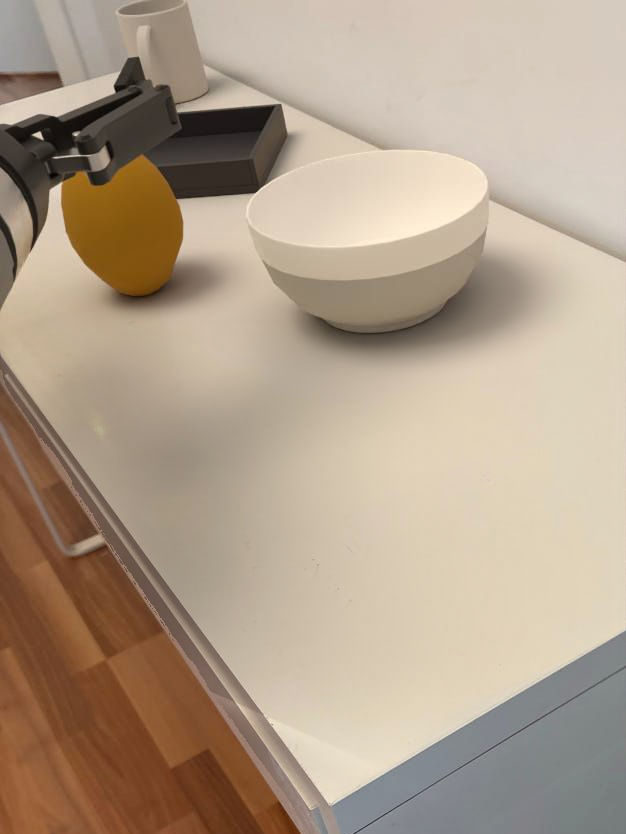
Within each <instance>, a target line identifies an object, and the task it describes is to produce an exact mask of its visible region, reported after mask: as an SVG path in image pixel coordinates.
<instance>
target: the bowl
mask: <svg viewBox="0 0 626 834" xmlns="http://www.w3.org/2000/svg"><path fill="white" fill-rule="evenodd" d="M489 217H490V183H489V180H488V178H487V176H486V173H485V172H484V171H483V170H482V169H481V168H480V167H478V166H477V165H476V164H474V163H473V162H470V161H469V160H467V159H465V158H461V157H458V156H455V155H452V154H449V153H445V152H444V153H443V152H437V151H433V150H420V149H384V150H371V151H363V152H356V153H349V154H344V155H341V156H340V155H339V156H335V157H330V158H326V159H322V160H319V161H315V162H312V163H309V164H305V165H302V166H301V167H298V168H295V169H293V170H290V171H288V172H286V173H283V174H281V175H279V176H278V177H275V178H274V179H272V180H271V181H269V182H268V183H265V184H264V186H263V187H262V188H261V189H260V190H259V191H258V192H255V193H254V195H252V197H251V198H250V199H249V201H248V203H247V205H246V207H245V222H246V224H247V227H248V231H249V234H250V236H251V239H252V243H253V246H254V249H255V251H256V253H257V255H258V257H259V258H260V260H261V262H262V263H263V266H264V267H265V269H266V271H267V273H268V275H269V277H270V279H271V280H272V283H273V284H274V285H275V286H276V287H277V288H278V289H279V290H281V291H282V292H283V294H285V295H286V296H287V297H288V298H289V299H290V300H291V301H292V302H293V303H294V304H296V305H297V306H298V307H299V308H300V309H301V310H302V311H305V312H307V313H308V314H310V315H313V316H315V317H317V318H321V319H322V320H324V322H325V323H327V324H328V325H330V326H332V327H334V328H336V329H339V330H342V331H344V332H345V331H346V332H352V333H360V334H361V333H362V334H378V333H379V334H380V333H388V332H393V331H399V330H403V329H408V328H410V327H413V326H416V325H419V324H421V323H423V322H425V321H427V320H429V319H431V318H433V317H434V316H435V315H437V314H438V313H439V312H440V311H441V310H442V309H443V308H444V307H445V306H446V303H447V302H448V300H449V299H451V298H452V297H453V296H455V295H456V294H458V293H459V292H460V291H461V289H462V288H463V287H465V285H466V284H467V282H468V280H469V278H470V276H471V274H472V273H473V271H474V269H475V268H476V266H477V264H478V262H479V260H480V259H481V257H482V255H483V254H484V253H483V252H484V248H485V242H486V236H487V230H488V225H489Z"/></svg>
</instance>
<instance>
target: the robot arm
mask: <svg viewBox="0 0 626 834" xmlns="http://www.w3.org/2000/svg"><path fill="white" fill-rule="evenodd" d="M113 89H114V93H111V94H109V95H106V96H105V97H102V98H100V99H97V100H95V101H92V102H90V103H87V104H85V105H83V106H80V107H78V108H75V109H73V110H71V111H68V112H65V113H63V114H61V115H59V116H55V115H51V114H44V113H38V114H35V115H32V116H30V117H28V118H25V119H22V120H20V121H18V122H15V123H13V124H8V123H0V311H1V310H2V308H3V307H4V304H5V302H6V300H7V299H8V298H7V297H8V296H9V294H10V293H11V290H12V289H13V286H14V283H15V282H16V280H17V278H18V276H19V274H20V272H21V270H22V269H23V267H24V265H25V263H26V261H27V259H28V258H29V255H30V254H31V252H32V250H34V249H33V248H34V246H35V245H36V243H37V241H38V239H39V237H40V235H41V234H42V231H43V229H44V228H45V225H46V222H47V219H48V214H49V206H50V191H51V190H52V189H53V188H55V187H57V186H58V185H59V184H62V182H63V181H65V180H67V179H69V178H72V177H74V176H75V175H76V173H77V172H85V173H86V176H87V177H88V179H89V181H90V184H91V185H94V186H102V185H105V184H106V183H108V182H110V181H111V180H112V178H113V177H114V175H115V174H116V172H117V171H118V170H119V169H121V168H122V167H124V166H125V165H127V164H128V163H130V162H131V161H133V160H134V159H136V158H137V157H139V156H141V155H142V154H144V153H145V152H147V151H148V150H150V149H151V148H153V147H154V146H156V145H157V144H159V143H161V142H162V141H164V140H165V139H167V138H168V137H170V136H171V135H173V134H174V133H176V132H177V131H179V130H180V129H181V124H180V120H179V117H178V113H177V112H178V110H177V107H176V104H175V103H174V99H173V96H172V92H171V89H170V86H169V85H163V84H159V85H156V87H153V83H152V81H151V80H150V79H148V80H146V79H145V75H144V72H143V68H142V65H141V62H140V58H139V57H131V58H129V57H128V58H127V59H126V61H125V63H124V65H123V67H122V69H121V70H120V72H119V74H118V77H117V79H116V80H115V81H114V84H113ZM37 133H40V135H41V137H42V138H40V137H37V136H35V134H37Z"/></svg>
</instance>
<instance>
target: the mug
mask: <svg viewBox="0 0 626 834" xmlns="http://www.w3.org/2000/svg"><path fill="white" fill-rule="evenodd" d="M115 17H116V20H117V24H118V28H119V30H120V33H121V37H122V40H123V43H124V47H125V50H126V54H127V57H128V58H131V57H139V58H140V62H141V65H142V68H143V72H144V75H145V79H146V80H148V79H150V80H151V81H152V83H153V87H156V85H159V84H163V85H169V86H170V89H171V92H172V96H173V99H174V103H175V105H176V104H182V103H186V102H190V101H193V100H195V99H198V98H200V97H202V96H204V94H206V93H208V91H209V89H210V86H209V82H208V79H207V75H206V74H207V73H206V70H205V67H204V63H203V58H202V56H201V52H200V47H199V43H198V39H197V35H196V32H195V27H194V23H193V20H192V16H191V12H190V8H189V4H188V1H187V0H135V1H132V2H129V3H126V4H123V5H121V6H119V7H118V8H117V9H116V10H115Z"/></svg>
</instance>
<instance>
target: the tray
mask: <svg viewBox="0 0 626 834" xmlns="http://www.w3.org/2000/svg"><path fill="white" fill-rule="evenodd" d="M177 113H178V117H179V120H180V124H181V129H180V130H179V131H177V132H176V133H174V134H173V135H171V136H170V137H168V138H167V139H165V140H164V141H162V142H161V143H159V144H157V145H156V146H154V147H153V148H151V149H150V150H148V151H147V152H145V153H144V154H143V155H144V156H145V157H146V158H147V159H148V160H149V161H150V162H151V163H153V164H154V165H155V166H156V167H157V169H158V170H159V171H160V173H161V174H162V175H163V177H164V178H165V179H166V181H167V182H168V184H169V186H170V188H171V190H172V192H173V194H174V196H175V198H176V200H178V199H189V198H197V197H198V198H201V197H214V196H228V195H240V194H252V193H253V194H255V193H257V192H258V191H259V190H260V189H261V188H262V187H264V186H265V185H266V181H267V179H268V178H269V175H270V173H271V171H272V168H273V167H274V164H275V162H276V160H277V158H278V156H279V154H280V151H281V149H282V147H283V145H284V143H285V141H286V138H287V137H288V130H287V129H288V128H287V123H286V119H285V114H284V109H283V105H282V103H272V104H261V105H248V106H236V107H235V106H234V107H226V108H225V107H223V108H213V109H212V108H211V109H201V110H190V111H188V110H187V111H177Z"/></svg>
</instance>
